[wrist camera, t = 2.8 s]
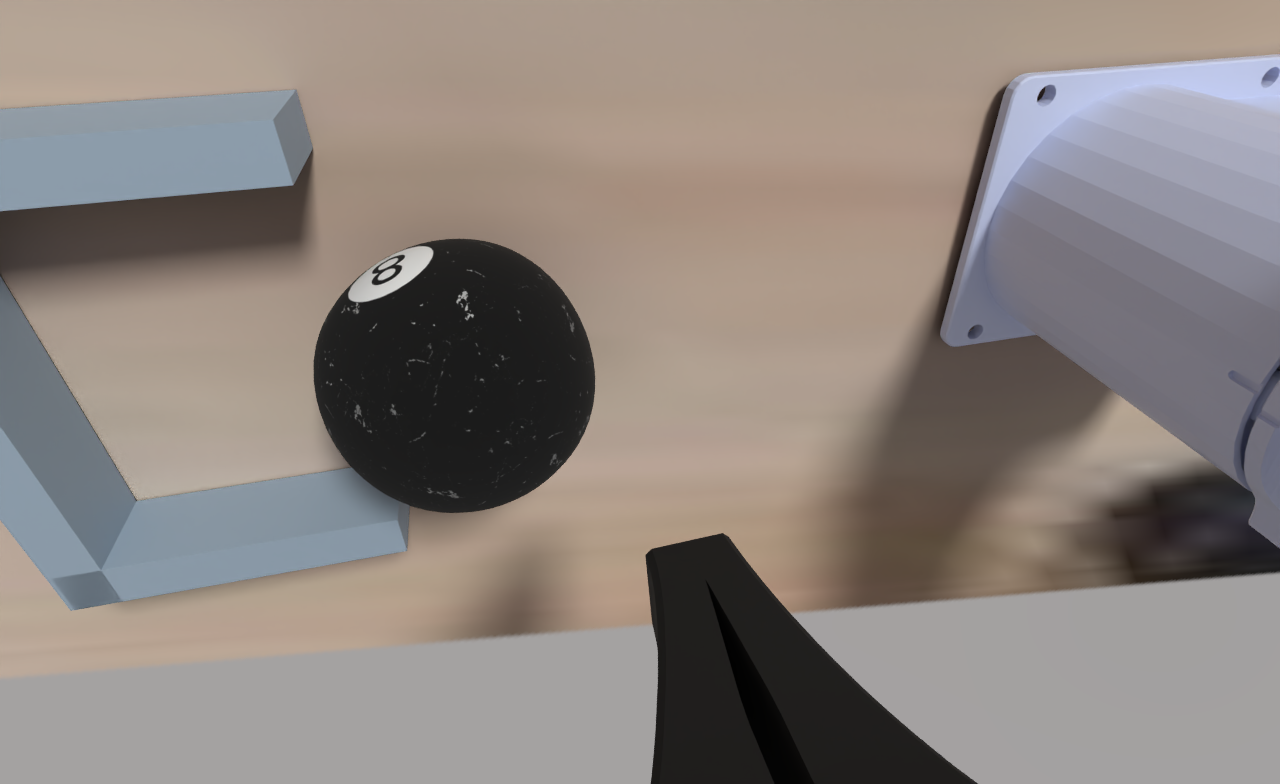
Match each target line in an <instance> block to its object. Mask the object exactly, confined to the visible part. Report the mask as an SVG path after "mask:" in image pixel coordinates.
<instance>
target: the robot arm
mask: <svg viewBox="0 0 1280 784" xmlns="http://www.w3.org/2000/svg"><path fill="white" fill-rule="evenodd" d="M1045 86H1046V87H1045ZM1044 87H1045V93H1044V95H1043V97H1042V98H1041V99H1040V100H1039V101H1038V102H1037V96H1038V94H1039V92H1040V91H1041V90H1042V89H1043V88H1044ZM973 326H974V328H973V329H972V330H971V331H970V332H969V330H970V329H971V328H972V327H973ZM1032 335H1038V336H1039V337H1040V338H1042V339H1043V340H1045V341H1046V342H1047V343H1049V344H1050V345H1051V346H1053V347H1054V348H1055V349H1057V350H1058V351H1060V352H1061V353H1062V354H1064V355H1065V356H1066V357H1068V358H1069V359H1070V360H1072V361H1073V362H1075V363H1076V364H1077V365H1079V366H1080V367H1081V368H1083V369H1084V370H1085V371H1087V372H1088V373H1090V374H1091V375H1092V376H1094V377H1095V378H1096V379H1098V380H1099V381H1100V382H1102V383H1103V384H1105V385H1106V386H1107V387H1109V388H1110V389H1111V390H1113V391H1114V392H1115V393H1117V394H1118V395H1120V396H1121V397H1122V398H1124V399H1125V400H1126V401H1128V402H1129V403H1130V404H1132V405H1133V406H1134V407H1136V408H1137V409H1139V410H1140V411H1141V412H1143V413H1144V414H1145V415H1147V416H1148V417H1149V418H1151V419H1152V420H1154V421H1155V422H1156V423H1158V424H1159V425H1160V426H1162V427H1163V428H1164V429H1166V430H1167V431H1169V432H1170V433H1171V434H1173V435H1174V436H1175V437H1177V438H1178V439H1179V440H1181V441H1182V442H1184V443H1185V444H1186V445H1188V446H1189V447H1190V448H1192V449H1193V450H1194V451H1196V452H1197V453H1199V454H1200V455H1201V456H1203V457H1204V458H1205V459H1207V460H1208V461H1209V462H1211V463H1212V464H1214V465H1215V466H1216V467H1218V468H1219V469H1220V470H1222V471H1223V472H1224V473H1226V474H1227V475H1229V476H1230V477H1231V478H1233V479H1234V480H1235V481H1237V482H1238V483H1239V484H1241V485H1242V486H1243V487H1245V488H1246V489H1248V490H1249V491H1252V492H1253V494H1254V496H1255V506H1254V510H1253V513H1252V515H1251V517H1250V519H1249V525H1250V526H1252V527H1253V528H1254V529H1256V530H1257V531H1258V532H1260V533H1261V534H1262V535H1263V536H1265V537H1266V538H1267V539H1269V540H1270V541H1271V542H1272V543H1274V544H1275V545H1276V546H1278V547H1279V548H1280V54H1276V55H1263V56H1250V57H1236V58H1223V59H1210V60H1196V61H1183V62H1170V63H1156V64H1143V65H1130V66H1116V67H1103V68H1090V69H1076V70H1063V71H1050V72H1036V73H1026V74H1022V75H1019V76H1018V77H1016V78H1015V79H1014V80H1012V81H1011V83H1010V84H1009V85H1008V87H1007V88H1006V90H1005V93H1004V95H1003V99H1002V102H1001V106H1000V110H999V114H998V117H997V121H996V125H995V129H994V132H993V136H992V140H991V144H990V147H989V151H988V155H987V159H986V162H985V166H984V170H983V173H982V177H981V181H980V185H979V188H978V192H977V196H976V200H975V203H974V207H973V211H972V215H971V218H970V222H969V226H968V230H967V233H966V237H965V241H964V245H963V248H962V252H961V256H960V259H959V263H958V267H957V271H956V274H955V278H954V282H953V286H952V289H951V293H950V297H949V301H948V304H947V308H946V312H945V316H944V319H943V323H942V327H941V331H940V336H941V338H942V340H943V341H944V342H945V343H947V344H948V345H949V346H951V347H958V346H965V345H972V344H978V343H985V342H992V341H998V340H1005V339H1012V338H1019V337H1025V336H1032ZM646 565H647V575H648V585H649V595H650V605H651V615H652V624H653V628H654V632H655V637H656V641H657V647H658V693H657V714H656V734H655V746H654V758H653V768H652V778H651V784H977V783H976V782H975V781H973V780H972V779H970V778H969V777H968V776H967V775H965V774H964V773H963V772H961V771H960V770H959V769H957V768H956V767H955V766H953V765H952V764H951V763H950V762H948V761H947V760H946V759H945V758H943V757H942V756H941V755H940V754H938V753H937V752H936V751H935V750H934V749H932V748H931V747H930V746H929V745H927V744H926V743H925V742H924V741H923V740H921V739H920V738H919V737H918V736H916V735H915V734H914V733H913V732H912V731H910V730H909V729H908V728H907V727H906V726H905V725H904V724H902V723H901V722H900V721H899V720H898V719H897V718H896V717H894V716H893V715H892V714H891V713H890V712H889V711H887V710H886V709H885V708H884V707H883V706H882V705H881V704H880V703H879V702H878V701H876V700H875V699H874V698H873V697H872V696H871V695H870V694H869V693H868V692H867V691H866V690H865V689H863V688H862V687H861V686H860V685H859V684H858V683H857V682H856V681H855V680H854V679H853V678H852V677H851V676H850V675H849V674H848V673H847V672H846V671H845V670H844V669H843V668H842V667H841V666H840V665H839V664H838V663H836V661H834V660H833V658H832V657H831V656H830V655H829V654H828V653H827V652H826V651H825V650H824V649H823V648H822V647H821V646H820V645H819V644H818V643H817V642H816V641H815V640H814V639H813V638H812V637H811V635H810V634H809V633H808V632H807V631H806V630H805V629H804V628H803V627H802V626H801V625H800V624H799V622H798V621H797V620H796V619H795V618H794V617H793V616H792V615H791V614H790V613H789V612H788V610H787V609H786V608H785V607H784V606H783V605H782V604H781V602H780V601H779V600H778V599H777V598H776V597H775V595H774V594H773V593H772V592H771V591H770V590H769V588H768V587H767V586H766V585H765V584H764V582H763V581H762V580H761V579H760V577H759V576H758V575H757V574H756V573H755V571H754V570H753V569H752V568H751V566H750V565H749V564H748V562H747V561H746V560H745V558H744V557H743V556H742V554H741V553H740V552H739V550H738V549H737V548H736V546H735V545H734V544H733V542H732V541H731V539H730V538H729V537H728V536H726V535H725V534H723V533H721V534H717V535H712V536H708V537H703V538H699V539H694V540H690V541H685V542H681V543H676V544H672V545H667V546H663V547H658V548H654V549H651V550H650V551H649V552H648V553H647V554H646Z"/></svg>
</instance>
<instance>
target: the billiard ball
mask: <svg viewBox="0 0 1280 784" xmlns="http://www.w3.org/2000/svg"><path fill="white" fill-rule="evenodd" d="M314 385H315V392H316V398H317V402H318V406H319V410H320V413H321V416H322V419H323V421H324V424H325V426H326V429H327V431H328V433H329V435H330V436H331V438H332V440H333V442H334V444H335V445H336V447H337V449H338V450H339V452H340V453H341V455H342V456H343V457H344V459H345V460H346V461H347V462H348V463H349V465H350V466H351V467H352V468H353V469H354V470H355V471H356V472H357V473H358V474H359V475H360V476H361V477H362V478H363V479H364V480H366V481H367V482H368V483H369V484H371V485H372V486H373V487H375V488H376V489H378V490H379V491H381V492H382V493H384V494H386V495H387V496H389V497H391V498H393V499H395V500H397V501H400V502H402V503H405V504H407V505H410V506H413V507H417V508H420V509H424V510H429V511H436V512H446V513H460V512H473V511H480V510H485V509H490V508H494V507H497V506H500V505H503V504H506V503H508V502H511V501H513V500H516V499H518V498H520V497H522V496H524V495H526V494H528V493H529V492H531V491H532V490H534V489H535V488H537V487H538V486H540V485H541V484H542V483H544V482H545V481H546V480H548V479H549V478H550V477H551V476H552V475H553V474H554V473H555V472H556V471H557V470H558V469H559V468H560V467H561V466H562V465H563V464H564V463H565V462H566V461H567V459H568V458H569V457H570V456H571V454H572V453H573V451H574V450H575V448H576V447H577V445H578V444H579V442H580V440H581V438H582V436H583V434H584V432H585V430H586V427H587V424H588V422H589V419H590V415H591V411H592V407H593V402H594V394H595V370H594V362H593V357H592V352H591V348H590V344H589V340H588V338H587V335H586V332H585V329H584V327H583V325H582V322H581V320H580V318H579V316H578V314H577V312H576V311H575V309H574V307H573V305H572V304H571V302H570V301H569V299H568V298H567V296H566V295H565V294H564V292H563V291H562V289H561V288H560V287H559V286H558V285H557V284H556V283H555V281H554V280H553V279H552V278H551V277H550V276H549V275H547V274H546V273H545V272H544V271H543V270H542V269H541V268H540V267H538V266H537V265H536V264H534V263H533V262H532V261H530V260H528V259H527V258H525V257H524V256H522V255H520V254H519V253H517V252H515V251H513V250H510V249H508V248H506V247H503V246H500V245H497V244H494V243H490V242H486V241H479V240H472V239H446V240H438V241H431V242H427V243H422V244H418V245H415V246H412V247H409V248H406V249H404V250H401V251H399V252H397V253H395V254H393V255H391V256H389V257H387V258H385V259H383V260H382V261H380V262H379V263H377V264H375V265H374V266H372V267H371V268H369V269H368V270H367V271H366V272H364V273H363V274H362V275H361V276H359V277H358V278H357V279H356V280H355V281H354V282H353V283H352V284H351V285H350V286H349V287H348V288H347V289H346V290H345V291H344V293H343V294H342V295H341V296H340V298H339V299H338V300H337V302H336V303H335V305H334V306H333V308H332V309H331V311H330V312H329V314H328V316H327V318H326V320H325V322H324V324H323V326H322V329H321V331H320V334H319V337H318V340H317V344H316V350H315V356H314Z"/></svg>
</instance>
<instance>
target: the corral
mask: <svg viewBox="0 0 1280 784" xmlns="http://www.w3.org/2000/svg"><path fill="white" fill-rule="evenodd" d="M312 149H313V146H312V143H311V139H310V136H309V132H308V129H307V125H306V122H305V118H304V115H303V111H302V108H301V104H300V101H299V97H298V94H297V90H284V91H269V92H254V93H238V94H223V95H208V96H193V97H178V98H163V99H148V100H133V101H117V102H102V103H87V104H72V105H57V106H42V107H27V108H12V109H0V211H8V210H20V209H31V208H42V207H54V206H65V205H76V204H88V203H99V202H110V201H122V200H133V199H144V198H156V197H167V196H178V195H190V194H201V193H212V192H224V191H235V190H246V189H257V188H269V187H280V186H291V185H294V183H295V181H296V179H297V177H298V176H299V174H300V172H301V170H302V168H303V166H304V164H305V162H306V160H307V159H308V157H309V155H310V153H311V151H312ZM409 508H410V505H407V504H405V503H402V502H400V501H397V500H395V499H393V498H391V497H389V496H387V495H386V494H384V493H382V492H381V491H379V490H378V489H376V488H375V487H373V486H372V485H371V484H369V483H368V482H367V481H366V480H364V479H363V478H362V477H361V476H360V475H359V474H358V473H357V472H356V471H355V470H354V469H353V468H346V469H339V470H333V471H326V472H320V473H314V474H307V475H301V476H294V477H288V478H282V479H275V480H269V481H262V482H256V483H250V484H243V485H237V486H230V487H224V488H218V489H211V490H205V491H198V492H192V493H185V494H179V495H173V496H166V497H160V498H153V499H147V500H141V501H136V500H135V498H134V496H133V495H132V493H131V491H130V490H129V488H128V486H127V485H126V483H125V481H124V480H123V478H122V476H121V475H120V473H119V471H118V470H117V468H116V466H115V465H114V463H113V461H112V460H111V458H110V457H109V455H108V453H107V452H106V450H105V448H104V447H103V445H102V443H101V442H100V440H99V438H98V437H97V435H96V433H95V432H94V430H93V428H92V427H91V425H90V423H89V422H88V420H87V418H86V417H85V415H84V413H83V412H82V410H81V409H80V407H79V405H78V404H77V402H76V400H75V399H74V397H73V395H72V394H71V392H70V390H69V389H68V387H67V385H66V384H65V382H64V380H63V379H62V377H61V375H60V374H59V372H58V370H57V369H56V367H55V365H54V364H53V362H52V361H51V359H50V357H49V356H48V354H47V352H46V351H45V349H44V347H43V346H42V344H41V342H40V341H39V339H38V337H37V336H36V334H35V332H34V331H33V329H32V327H31V326H30V324H29V322H28V321H27V319H26V318H25V316H24V314H23V313H22V311H21V309H20V308H19V306H18V304H17V303H16V301H15V299H14V298H13V296H12V294H11V293H10V291H9V289H8V288H7V286H6V284H5V283H4V281H3V279H2V278H1V276H0V520H1V521H2V523H3V524H4V525H5V527H6V528H7V529H8V530H9V532H10V533H11V534H12V536H13V537H14V538H15V539H16V541H17V542H18V543H19V545H20V546H21V547H22V548H23V550H24V551H25V552H26V554H27V555H28V556H29V557H30V559H31V560H32V561H33V563H34V564H35V565H36V566H37V568H38V569H39V570H40V572H41V573H42V574H43V575H44V577H45V578H46V579H47V581H48V582H49V583H50V584H51V586H52V587H53V588H54V590H55V591H56V592H57V593H58V595H59V596H60V597H61V599H62V600H63V601H64V602H65V604H66V605H67V606H68V608H69V609H70V610H71V611H72V610H78V609H83V608H89V607H94V606H100V605H106V604H111V603H117V602H123V601H128V600H134V599H139V598H145V597H151V596H156V595H162V594H167V593H173V592H179V591H184V590H190V589H196V588H201V587H207V586H212V585H218V584H224V583H229V582H235V581H240V580H246V579H252V578H257V577H263V576H269V575H274V574H280V573H285V572H291V571H297V570H302V569H308V568H314V567H319V566H325V565H330V564H336V563H342V562H347V561H353V560H358V559H364V558H370V557H375V556H381V555H387V554H392V553H398V552H403V551H407V543H408V525H409Z"/></svg>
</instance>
